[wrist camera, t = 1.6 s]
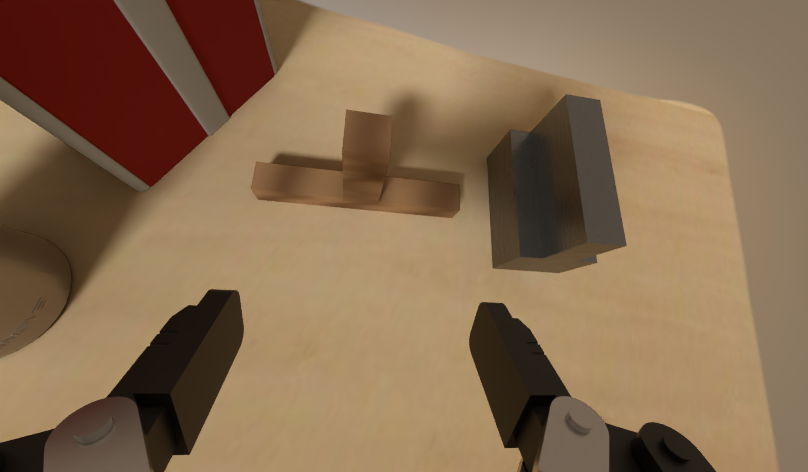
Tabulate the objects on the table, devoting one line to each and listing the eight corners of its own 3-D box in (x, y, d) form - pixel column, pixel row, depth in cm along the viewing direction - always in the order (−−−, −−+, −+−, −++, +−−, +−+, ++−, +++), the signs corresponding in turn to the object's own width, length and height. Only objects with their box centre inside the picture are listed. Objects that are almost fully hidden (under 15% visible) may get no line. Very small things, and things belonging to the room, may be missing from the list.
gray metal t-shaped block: (558, 273, 31) (651, 248, 22) (492, 268, 30) (560, 239, 21) (546, 165, 35) (621, 103, 25) (487, 157, 34) (542, 90, 24)
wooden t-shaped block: (258, 203, 28) (211, 134, 18) (263, 173, 29) (221, 91, 19) (451, 221, 31) (500, 170, 21) (450, 193, 32) (498, 131, 22)
